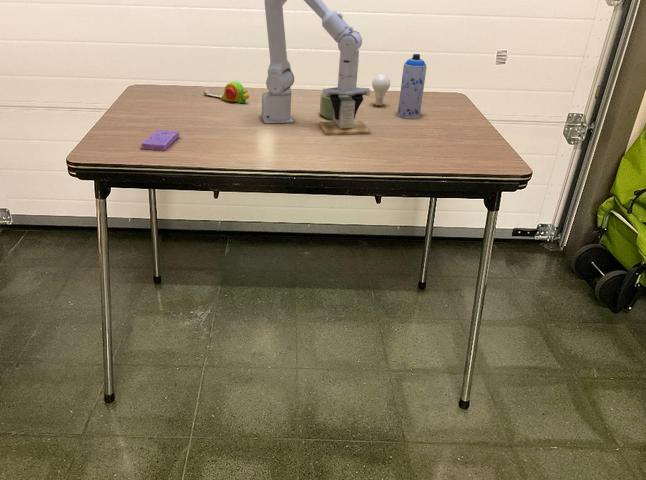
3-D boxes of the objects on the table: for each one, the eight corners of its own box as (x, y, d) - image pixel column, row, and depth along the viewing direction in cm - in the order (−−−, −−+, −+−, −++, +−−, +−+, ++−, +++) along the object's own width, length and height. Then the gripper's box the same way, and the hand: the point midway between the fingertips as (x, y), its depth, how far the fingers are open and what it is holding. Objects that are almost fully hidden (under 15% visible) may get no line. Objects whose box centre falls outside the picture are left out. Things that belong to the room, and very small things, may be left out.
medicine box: (353, 128, 191) (356, 100, 187) (340, 129, 190) (342, 101, 186) (344, 121, 198) (347, 94, 193) (331, 121, 197) (333, 94, 192)
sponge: (179, 137, 182) (179, 131, 182) (165, 151, 172) (164, 144, 171) (157, 135, 183) (156, 129, 182) (141, 149, 173) (140, 142, 172)
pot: (323, 121, 200) (325, 100, 196) (316, 111, 209) (317, 90, 206) (357, 120, 201) (359, 99, 198) (349, 110, 211) (350, 90, 207)
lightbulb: (382, 109, 214) (385, 77, 208) (366, 106, 217) (369, 74, 211) (391, 105, 218) (394, 74, 212) (375, 102, 221) (378, 71, 215)
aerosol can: (413, 111, 212) (421, 51, 202) (424, 117, 206) (433, 56, 196) (393, 112, 210) (400, 52, 200) (403, 119, 204) (411, 57, 194)
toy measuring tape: (243, 105, 212) (242, 86, 209) (199, 96, 221) (199, 77, 218) (253, 101, 217) (253, 82, 214) (210, 92, 226) (210, 74, 223)
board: (325, 135, 188) (325, 132, 187) (318, 124, 197) (318, 121, 197) (369, 133, 190) (369, 131, 189) (360, 123, 199) (360, 120, 199)
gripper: (327, 77, 180) (324, 122, 187) (374, 77, 182) (370, 121, 189) (322, 72, 186) (319, 116, 193) (368, 71, 188) (364, 115, 195)
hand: (344, 118), depth 192 cm, fingers closed on medicine box, 5 cm apart
